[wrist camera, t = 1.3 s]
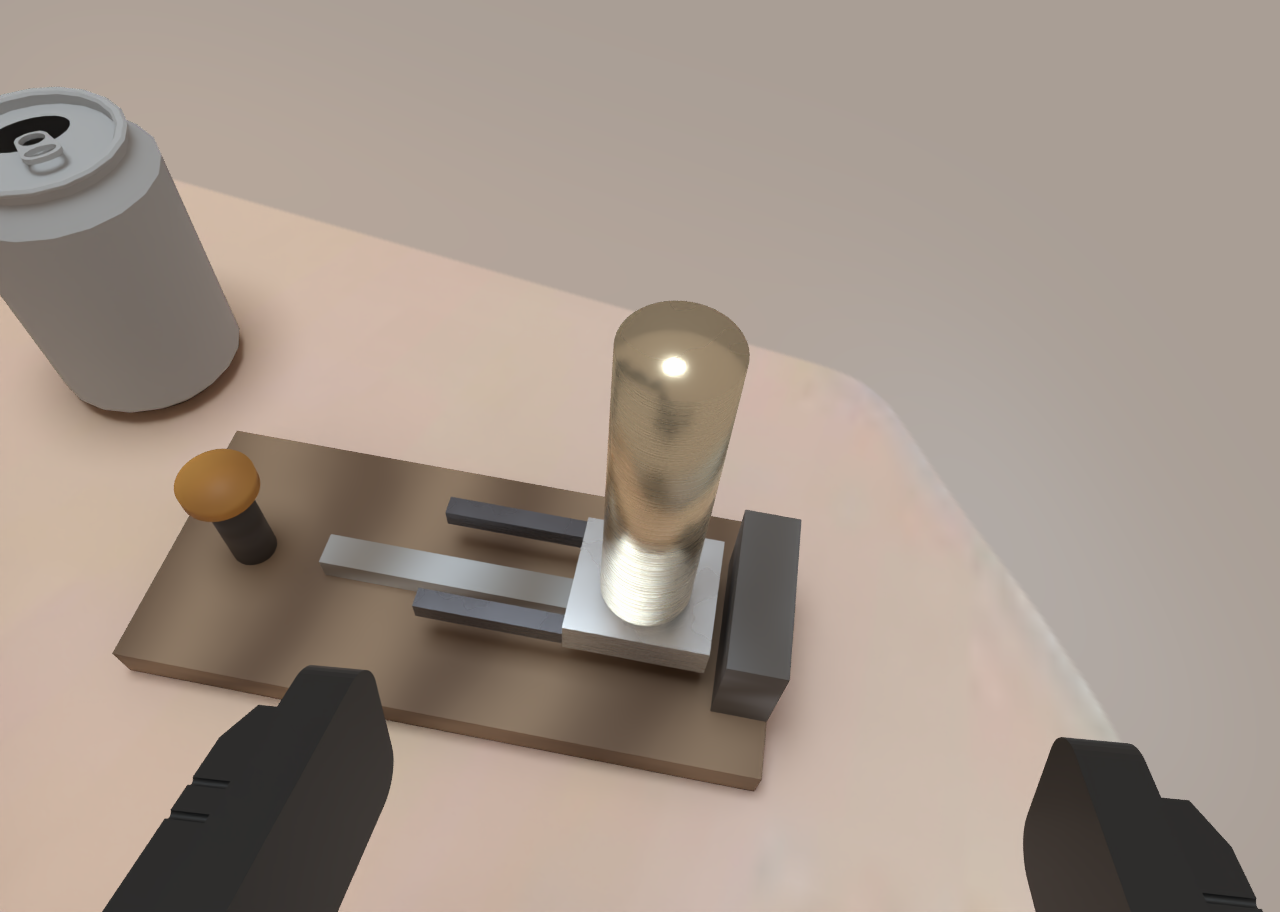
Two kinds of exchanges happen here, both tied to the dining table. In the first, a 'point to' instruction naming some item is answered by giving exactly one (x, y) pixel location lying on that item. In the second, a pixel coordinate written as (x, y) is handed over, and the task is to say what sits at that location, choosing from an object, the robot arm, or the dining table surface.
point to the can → (105, 255)
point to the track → (443, 651)
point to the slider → (636, 502)
